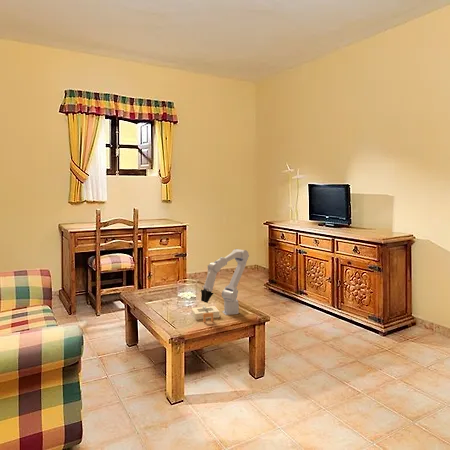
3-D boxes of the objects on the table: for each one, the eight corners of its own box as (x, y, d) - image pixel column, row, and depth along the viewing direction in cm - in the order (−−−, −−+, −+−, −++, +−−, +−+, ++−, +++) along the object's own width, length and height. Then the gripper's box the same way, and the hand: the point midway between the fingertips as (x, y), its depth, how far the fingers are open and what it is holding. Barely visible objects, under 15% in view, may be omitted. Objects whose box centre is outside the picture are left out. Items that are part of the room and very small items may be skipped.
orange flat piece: (212, 321, 251) (212, 312, 251) (213, 321, 250) (213, 313, 250) (203, 321, 250) (203, 313, 249) (203, 322, 249) (203, 314, 248)
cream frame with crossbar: (214, 311, 270) (214, 303, 269) (219, 317, 258) (219, 308, 258) (191, 313, 265) (191, 305, 265) (195, 319, 254) (195, 311, 253)
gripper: (201, 278, 259) (195, 299, 257) (207, 279, 245) (201, 301, 243) (211, 281, 261) (205, 301, 259) (217, 282, 247) (211, 304, 245)
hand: (204, 301), depth 251 cm, fingers open, 7 cm apart
